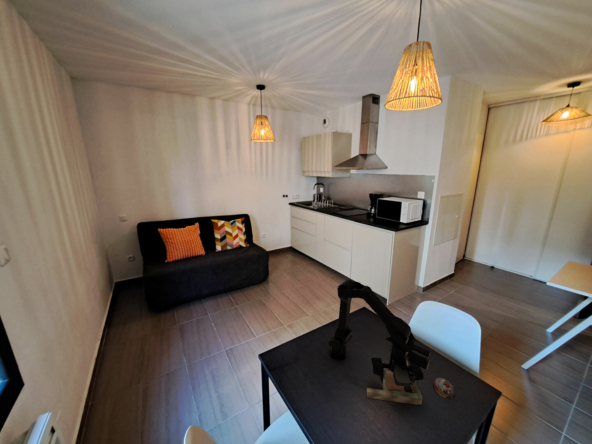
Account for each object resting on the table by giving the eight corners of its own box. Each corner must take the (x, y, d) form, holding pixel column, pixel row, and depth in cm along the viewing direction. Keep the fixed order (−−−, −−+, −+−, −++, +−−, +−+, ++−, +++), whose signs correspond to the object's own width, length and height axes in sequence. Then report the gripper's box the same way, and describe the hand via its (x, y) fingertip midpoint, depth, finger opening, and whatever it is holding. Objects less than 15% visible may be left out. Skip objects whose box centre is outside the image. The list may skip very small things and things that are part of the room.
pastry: (446, 402, 86) (448, 392, 84) (428, 385, 92) (429, 375, 91) (459, 394, 89) (461, 384, 87) (441, 378, 95) (442, 368, 94)
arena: (367, 397, 87) (367, 390, 87) (361, 360, 104) (361, 354, 103) (421, 404, 85) (422, 398, 84) (406, 365, 101) (407, 359, 100)
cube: (388, 393, 89) (389, 383, 87) (384, 380, 94) (385, 370, 92) (402, 395, 88) (404, 385, 86) (398, 382, 93) (399, 372, 92)
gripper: (377, 368, 80) (373, 401, 84) (433, 375, 77) (426, 408, 81) (371, 344, 91) (368, 374, 95) (420, 349, 88) (415, 380, 92)
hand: (393, 384), depth 90 cm, fingers open, 9 cm apart
